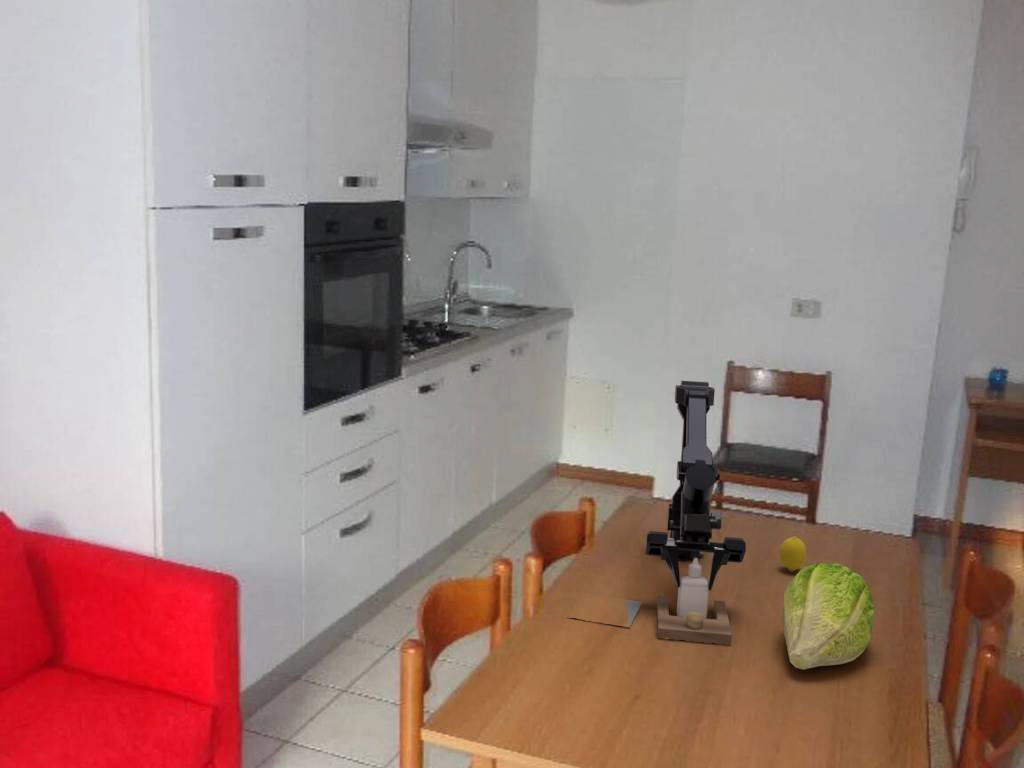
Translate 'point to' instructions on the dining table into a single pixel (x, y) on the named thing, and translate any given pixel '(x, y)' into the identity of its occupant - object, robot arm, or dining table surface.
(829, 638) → the lettuce
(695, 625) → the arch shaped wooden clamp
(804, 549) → the lemon
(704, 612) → the eye dropper bottle
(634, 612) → the slate mat
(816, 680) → the dining table surface
